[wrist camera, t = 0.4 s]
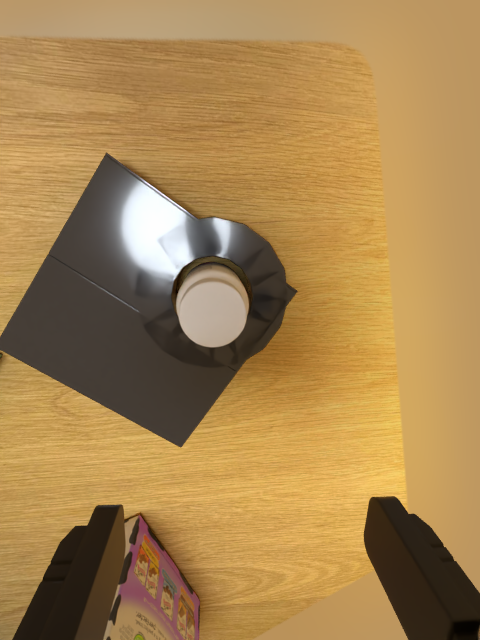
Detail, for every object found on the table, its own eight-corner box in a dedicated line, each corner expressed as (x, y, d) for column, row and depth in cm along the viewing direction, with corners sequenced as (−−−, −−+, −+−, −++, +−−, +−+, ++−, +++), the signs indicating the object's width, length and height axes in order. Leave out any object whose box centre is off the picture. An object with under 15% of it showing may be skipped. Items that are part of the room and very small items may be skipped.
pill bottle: (179, 312, 27) (164, 346, 19) (188, 256, 26) (177, 266, 18) (234, 323, 28) (244, 359, 20) (246, 267, 27) (261, 282, 19)
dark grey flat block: (130, 142, 24) (118, 130, 21) (306, 273, 27) (317, 278, 24) (17, 334, 27) (-7, 346, 24) (189, 430, 30) (187, 451, 27)
